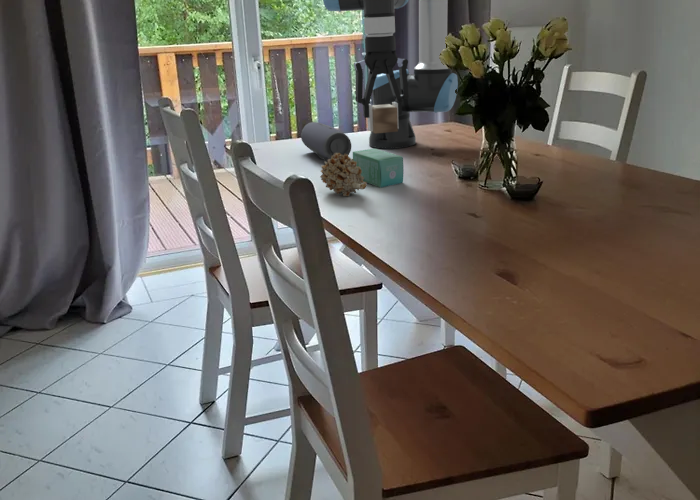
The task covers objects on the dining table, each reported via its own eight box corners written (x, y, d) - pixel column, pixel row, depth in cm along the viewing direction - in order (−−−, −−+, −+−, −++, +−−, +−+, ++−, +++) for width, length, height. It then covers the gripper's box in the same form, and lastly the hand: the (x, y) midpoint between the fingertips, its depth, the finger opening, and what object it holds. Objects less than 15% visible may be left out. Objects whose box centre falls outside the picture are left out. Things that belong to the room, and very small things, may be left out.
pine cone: (312, 190, 177) (309, 152, 174) (346, 184, 182) (344, 146, 178) (353, 210, 159) (350, 168, 156) (389, 203, 163) (388, 161, 160)
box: (381, 188, 176) (380, 159, 174) (352, 179, 187) (351, 151, 185) (404, 183, 180) (404, 154, 178) (375, 174, 191) (374, 147, 188)
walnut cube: (391, 127, 183) (390, 103, 181) (397, 131, 178) (397, 106, 176) (369, 129, 182) (368, 105, 180) (374, 133, 176) (374, 108, 174)
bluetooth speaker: (354, 162, 206) (352, 129, 202) (324, 167, 202) (322, 132, 199) (328, 149, 226) (326, 118, 222) (300, 153, 222) (298, 121, 219)
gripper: (412, 32, 177) (413, 123, 185) (339, 37, 174) (343, 130, 181) (421, 33, 171) (422, 128, 178) (345, 38, 167) (350, 134, 174)
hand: (383, 128), depth 180 cm, fingers closed on walnut cube, 6 cm apart
